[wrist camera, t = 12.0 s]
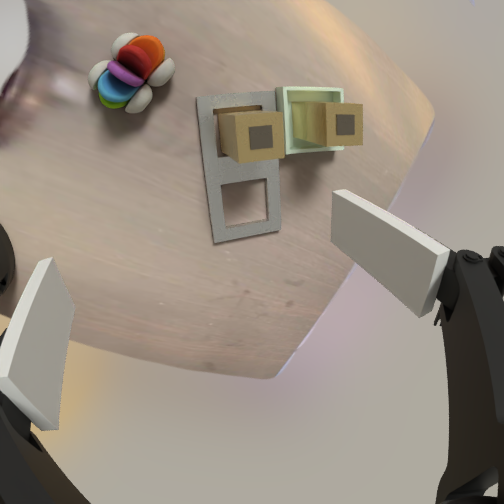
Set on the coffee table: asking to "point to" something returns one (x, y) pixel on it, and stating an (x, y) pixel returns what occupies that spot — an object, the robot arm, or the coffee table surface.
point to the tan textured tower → (252, 135)
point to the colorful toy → (131, 72)
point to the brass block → (328, 123)
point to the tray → (284, 105)
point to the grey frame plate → (236, 167)
